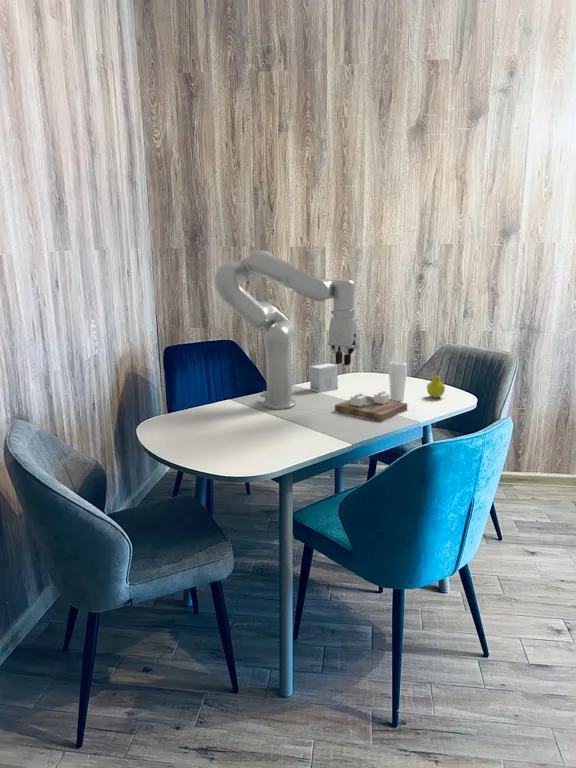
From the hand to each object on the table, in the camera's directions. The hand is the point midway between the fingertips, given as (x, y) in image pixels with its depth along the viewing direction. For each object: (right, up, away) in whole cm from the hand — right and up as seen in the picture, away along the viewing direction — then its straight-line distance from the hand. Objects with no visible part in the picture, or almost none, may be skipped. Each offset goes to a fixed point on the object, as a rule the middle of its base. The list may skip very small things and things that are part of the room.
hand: (343, 363), depth 209 cm
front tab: (+6, -15, -1) cm, 16 cm away
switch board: (+10, -17, +1) cm, 20 cm away
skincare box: (-5, -10, +33) cm, 35 cm away
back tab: (+15, -14, +2) cm, 20 cm away
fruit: (+39, -13, +18) cm, 45 cm away
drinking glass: (+23, -14, +15) cm, 31 cm away
